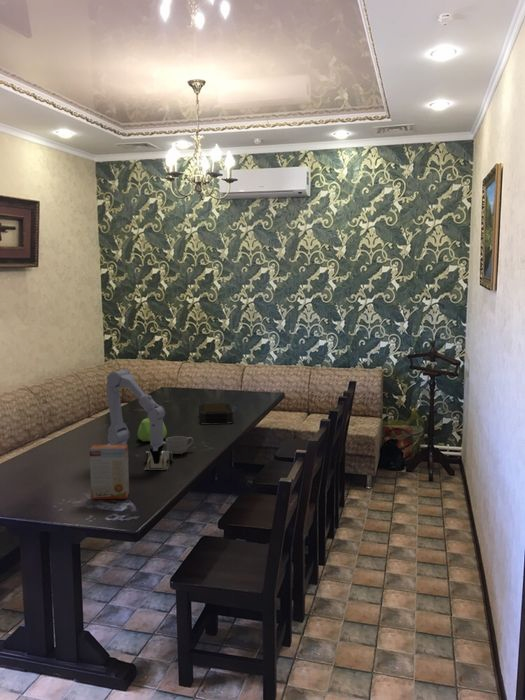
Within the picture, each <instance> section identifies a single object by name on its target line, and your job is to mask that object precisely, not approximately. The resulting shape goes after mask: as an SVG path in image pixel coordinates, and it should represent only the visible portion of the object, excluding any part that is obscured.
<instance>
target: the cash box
mask: <svg viewBox="0 0 525 700" xmlns="http://www.w3.org/2000/svg"><path fill="white" fill-rule="evenodd" d="M233 413H234V412H233V410H232V407H231V404H230V403H200V404H198V420H200V421H199V424H200V423H227V422H232V421H233V419H234V418H233V417H234V416H233Z"/></svg>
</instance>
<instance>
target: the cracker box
mask: <svg viewBox="0 0 525 700" xmlns="http://www.w3.org/2000/svg"><path fill="white" fill-rule="evenodd" d="M128 447H129V446H128V444H127V445H107V444H93V445H92V446H91V447H90V448H89V467H90V468H89V469H90V470H89V471H90V472H89V473H90V475H89V476H90V496H91V500H127V498H128V497H129V495H130V483H129V482H130V481H129V460H128V458H129V449H128ZM128 494H129V495H128Z"/></svg>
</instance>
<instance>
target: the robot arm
mask: <svg viewBox="0 0 525 700" xmlns="http://www.w3.org/2000/svg"><path fill="white" fill-rule="evenodd" d="M106 379H107V384H106V396H107V401H108V402H107V403H108V411H109V417H110V418H109V419H110V425H109V427H108V429H107V441H108V443H107V444H106V445H128V440H129V438H130V436H131V435H130V430H129V429H128V426H127V424H126V423H125V422H124V419H123V412H122V404H121V396H120V389H121V388H122V387H123V388H124V387H125V388H127V389H128V390H129V391H130V392H131V393H133V395H134V396H135V397H137V399H138V403H139V405H140V406H141V407H142V408H143V409H144V410H145V412H146V413H147V415H146V417H147V418H149V420H150V434H151V441H149V442H150V443H149V444H150V446H151V448H149V451H150V452H151V454H152V456H153V461H154V464H159V461H160V455H161V452H162V451H164V450H163V448H164V446H165V445H166V441H164V439H163V423H164V417H165V416H166V409H165V408H164V406H162V405H159V404H158V403H157V402H156V401H155V400H154V399H153V398H152V395H149V394H148V393H145V392H144V391H143V390H142V388H141V387H140V386H139V384H138V383H137V381H136V380H135V379H134V375H133V374H132V373H131V372H130V370H128V369H127V368H123V369H121V370H116V371H111V372H109V374H108V375H107V376H106ZM129 459H130V458H129V457H128V461H129Z"/></svg>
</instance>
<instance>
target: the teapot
mask: <svg viewBox="0 0 525 700" xmlns="http://www.w3.org/2000/svg"><path fill="white" fill-rule="evenodd" d="M138 426H139V427H138V429H137V437H138V439H139V440H140V441H141V442H151V434H150V420H149V418H148V417H146V418H144V419H142V421H141V422H140V424H139V425H138ZM167 433H168V431H167V427H166V425H165V422H163V440H164V439H165V438H166V436H167Z"/></svg>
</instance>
